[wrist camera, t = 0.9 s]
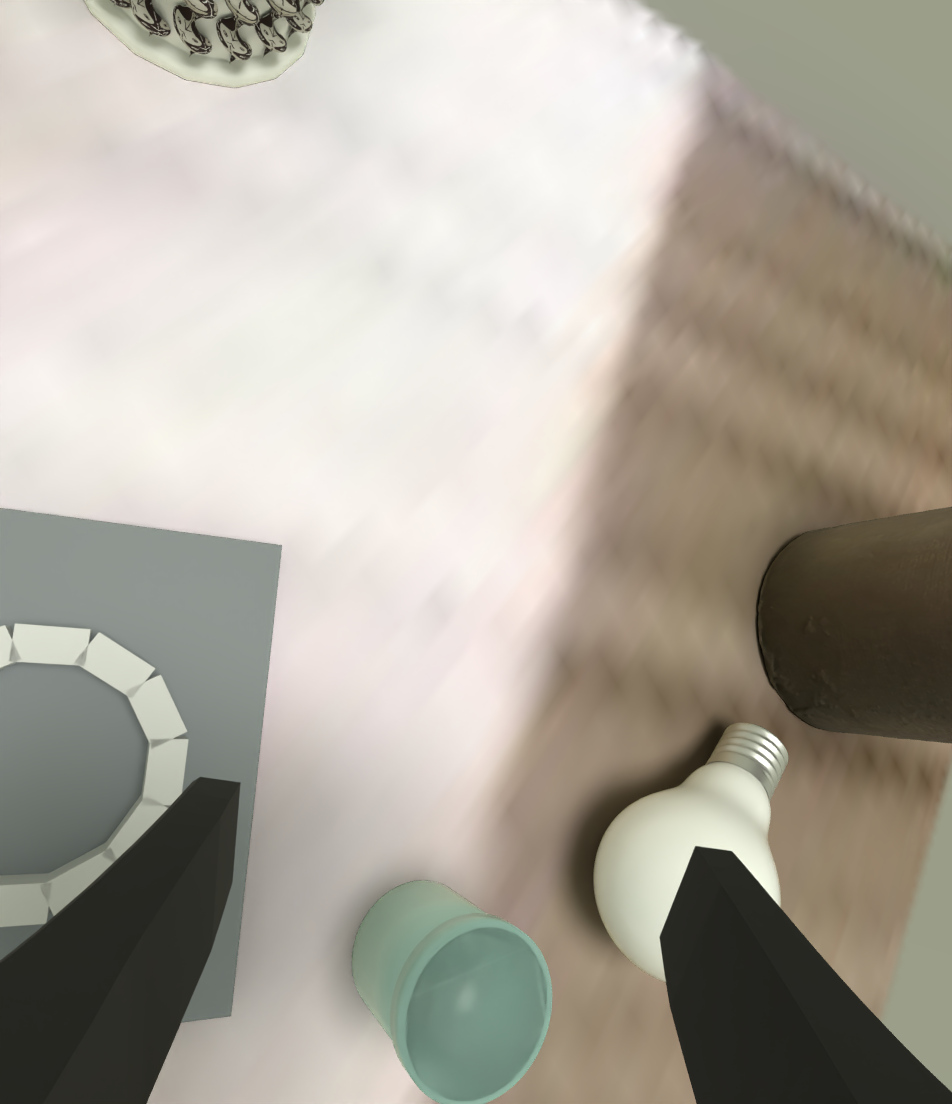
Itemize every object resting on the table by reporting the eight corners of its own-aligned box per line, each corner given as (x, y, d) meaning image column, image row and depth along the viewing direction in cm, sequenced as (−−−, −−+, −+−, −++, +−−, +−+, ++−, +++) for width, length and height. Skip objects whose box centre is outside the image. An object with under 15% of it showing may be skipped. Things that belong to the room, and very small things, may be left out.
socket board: (227, 1004, 22) (236, 1031, 21) (-308, 1070, 17) (-352, 1112, 16) (277, 548, 25) (288, 540, 23) (-179, 489, 20) (-206, 474, 18)
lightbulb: (852, 710, 28) (746, 964, 21) (831, 817, 31) (735, 1064, 24) (689, 657, 31) (553, 858, 24) (687, 758, 35) (567, 959, 28)
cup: (473, 1015, 25) (548, 1090, 21) (340, 1035, 24) (393, 1123, 19) (481, 872, 26) (555, 915, 22) (354, 879, 24) (406, 928, 20)
